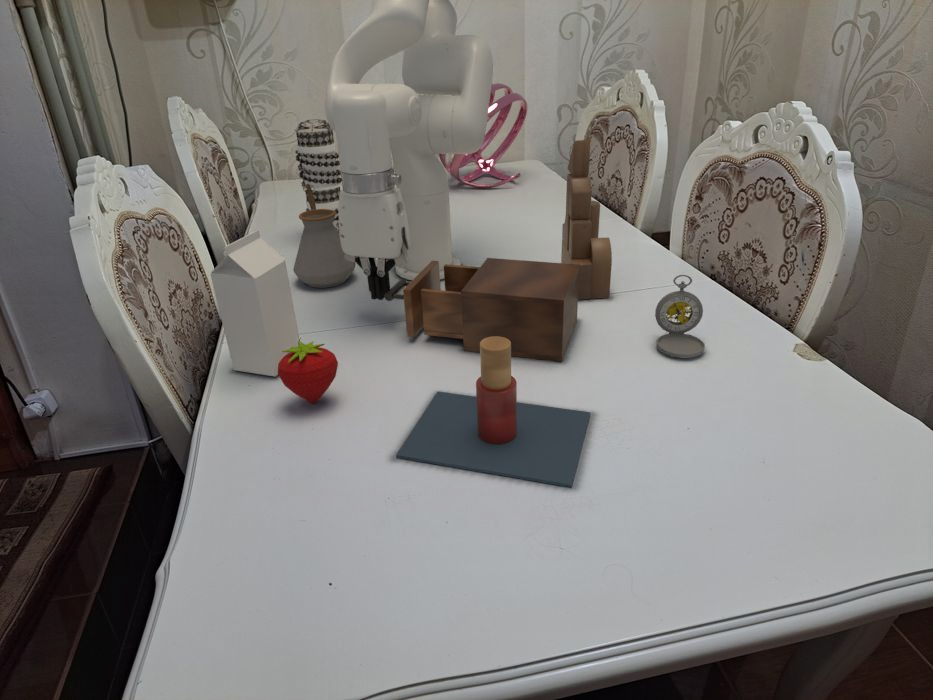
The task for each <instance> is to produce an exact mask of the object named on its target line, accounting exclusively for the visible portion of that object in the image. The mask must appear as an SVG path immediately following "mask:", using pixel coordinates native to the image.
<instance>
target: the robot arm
mask: <svg viewBox="0 0 933 700" xmlns="http://www.w3.org/2000/svg"><path fill="white" fill-rule="evenodd" d="M457 22H458V15H457V12H456V9H455V7H454V6H453V4H452V2H451V0H372V4H371V10H370V14H369V16H368V17H367V18H366V19H365V20H364V21H363V22H362V23H361V24H359V25H358V27H356V28H355V30H354V31H352V33H351V34H350V35H349V36H348V37H347V38H346V40H345V41H344V42H343V44H342V45H341V46H340V48H339V49H338V50H337V52H336V53H335V56H334V58H333V60H332V64H331V66H330V72H329V77H328V81H327V87H326V93H325V102H324V104H325V105H324V106H325V116H326V121H327V122H328V123H329V125H330V127H331V128H332V130H333V131H334V132H335V138H336V145H337V153H338V154H339V158H338V161H339V162H340V165H339V168H340V170H339V171H341V174H340V178H341V179H342V181H341V183H342V185H341V186H342V190H340V196H339V212H338V216H339V234H340V242H341V247H342V250H343V252H344V258H345V259H346V260H348V261H351V262H354V263H355V264H357V265H358V267H359V268H360V269H362V272H363V274H364V275H365V276H366V277H367V278H366V279H367V284H368V291H369V293H370V298H371V300H378V301H382V300H384V299H385V297H384V295H385V293H387V292H388V291H389V290H390V289H391V281H390V273H389V272H390V271H391V270H392V269H393V268H394V267H395V273H396V275H398V276H399V277H400V278H401V279H405V280H408V281H412V280H413V279H414V278H415V277H416V276H417V275H418V274H419V273H420V272H421V271H422V270H423V269H424V268H425V267H426V266H427V265H428V264H429V263H430V262H431V261H439V273H440V280H445V279H444V265H445V264H448V265H461V266H462V263H461V260H460V259H459V258H457V257H456V256H454V255H453V248H452V247H453V245H452V227H451V224H452V223H451V208H450V183H449V177H448V173H447V170H446V169H445V167H444V166H443V164H442V162H441V160H440V158H438V157H437V155H439V154H446V155H454V154H471V153H475V152H477V151H478V150H479V149H480V148H481V146H482V144H483V141H484V138H485V135H486V133H487V125H488V122H487V117H488V109H489V101H490V93H491V85H492V84H493V75H494V62H493V61H494V60H493V54H492V49H491V47H490V45H489V43H488V42H487V40H486V39H485V38H484V37H481V36H480V35H476V34H475V35H474V34H456V32H457V24H458V23H457ZM401 52H403V56H402V65H401V75H402V76H401V77H402V81H403V84H402V83H361V80H362V79H363V78H364V76H365V75H366V74H367V73H368V72H369V71H370V70H371V69H372V68H373V67H375V66H376V65H377V64H379V63H381V62H382V61H384V60H386V59H389V58H391V57H393V56H395V55H398V54H399V53H401ZM394 187H395V188H394Z"/></svg>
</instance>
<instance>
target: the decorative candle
mask: <svg viewBox="0 0 933 700" xmlns="http://www.w3.org/2000/svg"><path fill="white" fill-rule="evenodd" d="M333 131H334V130H333V129H332V128H331V127H330V125H329V123H328V120H327V119H320V118H319V119H318V118H317V119H316V118H314V119H306V120H302V121H300V122H299V123H298V125H297V128H296V129H294V132H295V135H296V142H297V146H296V147H297V150H295V151H294V153H295V154H296V155H295V160H296V161H297V162H298V163H299V164H298V165H297V168H298V169H297V170H298V171H299V173H298V174H299V178H300V179H302V182H301V188H303V187H304V186H305V185H307V184H309V185H313V186H314V187H315V189H314V187H313V186H311V189H312V190H314V191H313V193H312V194H313V196H314V198H315V205H316V209H329V210H333V211H336V212H337V213H336V215H335V217H334V220H333V225H334V227H335V228H336V230H337V232H338V233H339V216H338V212H339V196H340V191H341V186H342V178H341V170H339V169H338V167H340V162H339V154H338V151H337V152H336V149H337V148H336V142H335V139H334V138H335V137H334V132H333ZM306 190H307V188H306V187H304V192H305V191H306ZM305 198H306V200H305V204H306V208H305V211H309V210H311V207H310V204H309V201H308V194H307V192H305ZM339 235H340V234H339Z"/></svg>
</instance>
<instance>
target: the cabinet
mask: <svg viewBox="0 0 933 700" xmlns="http://www.w3.org/2000/svg"><path fill="white" fill-rule="evenodd" d="M479 267H480V268H479V269H478V270H477V272H476V273H475V274H474V275H473V277H472V278H471V279H470V280H469V282H468V283H467V284H466V285H465V287H464V288H463V289H462V290H461V301H462V323H463V339H462V340H463V341H462V342H463V343H462V345H463V351H465V352H474V353H480V342H481V341H482V340H483V339H485V338H487V337H492V336H500V337H505V338H507V339H509V340H510V342H511V357H518V358H525V359H532V360H533V359H534V360H542V361H551V362H558V363H559V362H560V363H562V362H563V360H564V357H565V355H566V352H567V348H568V346H569V343H570V340H571V338H572V336H573V333H574V330H575V327H576V325H577V322H578V309H579V308H578V307H579V306H578V305H579V300H578V288H579V267H580V265H579V264H565V263H561V262H549V261H536V260H524V259H523V260H522V259H508V258H496V257H492V258H491V257H487V258H485V260H484V261H483V263H482V264H481V265H480V266H479Z"/></svg>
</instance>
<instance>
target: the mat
mask: <svg viewBox="0 0 933 700" xmlns="http://www.w3.org/2000/svg"><path fill="white" fill-rule="evenodd" d="M590 417H591V411H583V410H577V409H570V408H560V407H554V406H547V405H546V406H545V405H539V404H533V403H532V404H531V403H527V402H526V403H524V402H519V401H517V434H516V436H515V438H514V439H513V440H512V441H510V442H508V443H504V444H490V443H487V442H484V441H483V440H481V439H480V438H479V436H478V426H477V399H476V395H475V396H474V395H466V394H460V393H459V394H458V393H452V392H445V391H436V393H435V394H434V396H433V398H432V399H431V400H430V402H429V404H428V406H427V407H426V408H425V410H424V411H423V413H422V414H421V416H420V418H419V419H418V421H417V422H416V424H415V425H414V427H413V428H412V430H411V431H410V433H409V435H408V436H407V437H406V439H405V440H404V442H403V444H402V445H401V446H400V449H399V450H398V451H397V453H396V454H395V457H396V458H397V459H402V460H409V461H413V462H414V461H415V462H420V463H426V464H432V465H437V466H444V467H450V468H456V469H461V470H466V471H473V472H477V473H478V472H479V473H484V474H490V475H496V476H503V477H509V478H515V479H520V480H524V481H532V482H538V483H541V484H542V483H543V484H548V485H549V484H550V485H554V486H559V487H560V486H561V487H566V488H573V483H574V480H575V476H576V472H577V468H578V465H579V459H580V457H581V452H582V448H583V444H584V440H585V436H586V433H587V429H588V424H589V421H590Z"/></svg>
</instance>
